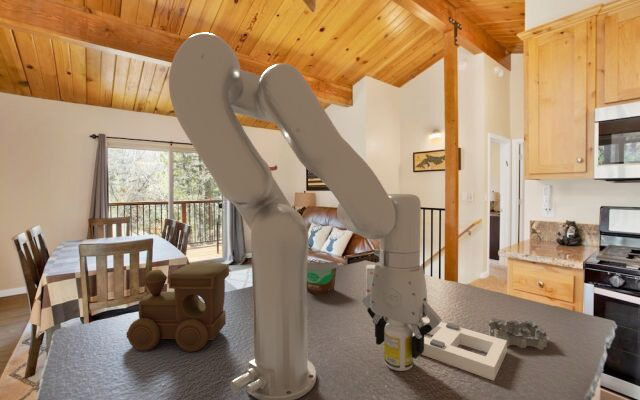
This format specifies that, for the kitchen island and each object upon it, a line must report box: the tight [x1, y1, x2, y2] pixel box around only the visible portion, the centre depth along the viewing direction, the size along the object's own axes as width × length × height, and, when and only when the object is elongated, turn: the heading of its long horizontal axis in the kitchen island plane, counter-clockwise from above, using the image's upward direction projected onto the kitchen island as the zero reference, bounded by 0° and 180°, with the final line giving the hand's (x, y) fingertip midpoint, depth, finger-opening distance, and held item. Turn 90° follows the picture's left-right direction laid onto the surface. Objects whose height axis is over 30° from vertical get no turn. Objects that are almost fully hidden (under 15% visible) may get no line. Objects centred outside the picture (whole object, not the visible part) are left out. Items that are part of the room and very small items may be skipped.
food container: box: [307, 259, 339, 295], centre depth 101 cm, size 12×6×10 cm, turn 73°
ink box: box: [365, 264, 375, 311], centre depth 88 cm, size 9×5×12 cm, turn 84°
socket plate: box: [408, 316, 508, 382], centre depth 67 cm, size 12×21×3 cm, turn 50°
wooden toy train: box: [126, 262, 230, 353], centre depth 70 cm, size 20×11×17 cm, turn 87°
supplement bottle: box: [383, 318, 414, 372], centre depth 61 cm, size 5×5×10 cm
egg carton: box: [486, 317, 551, 350], centre depth 70 cm, size 11×8×4 cm
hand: (398, 347), depth 61 cm, fingers open, 6 cm apart
